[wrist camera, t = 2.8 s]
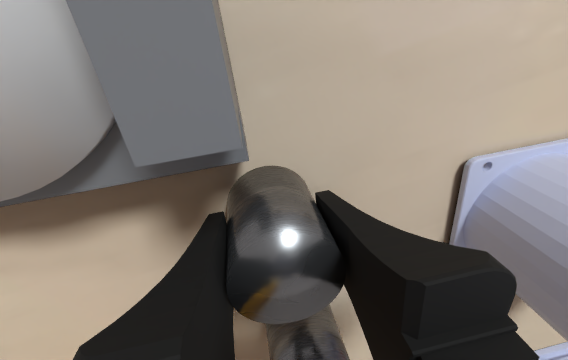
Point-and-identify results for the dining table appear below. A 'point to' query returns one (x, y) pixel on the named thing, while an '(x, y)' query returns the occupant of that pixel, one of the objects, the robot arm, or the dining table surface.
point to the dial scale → (112, 94)
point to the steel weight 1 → (279, 249)
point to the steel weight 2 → (307, 339)
